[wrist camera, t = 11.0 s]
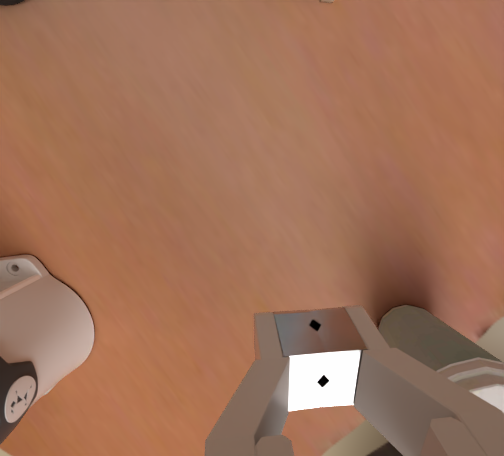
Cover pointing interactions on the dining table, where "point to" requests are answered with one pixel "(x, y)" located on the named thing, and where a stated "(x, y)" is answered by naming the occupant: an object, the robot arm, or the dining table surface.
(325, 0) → the wooden holder
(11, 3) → the pen holder
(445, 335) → the disposable coffee cup
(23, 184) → the dining table surface
